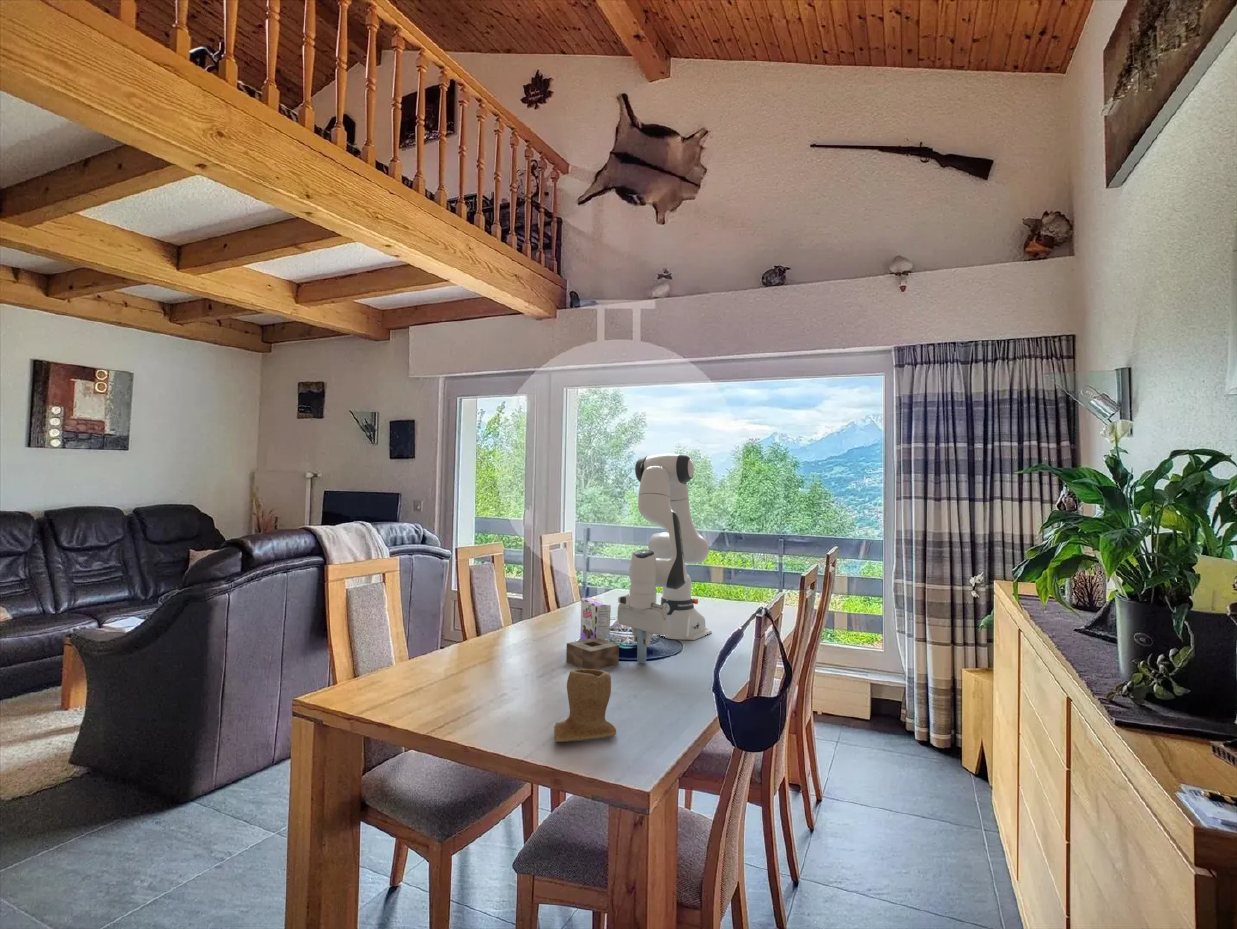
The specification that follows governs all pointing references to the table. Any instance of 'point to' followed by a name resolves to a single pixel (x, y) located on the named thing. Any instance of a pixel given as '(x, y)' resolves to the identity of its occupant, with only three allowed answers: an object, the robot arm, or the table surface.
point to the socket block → (592, 653)
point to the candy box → (594, 618)
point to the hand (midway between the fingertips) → (642, 643)
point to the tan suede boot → (586, 707)
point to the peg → (641, 646)
